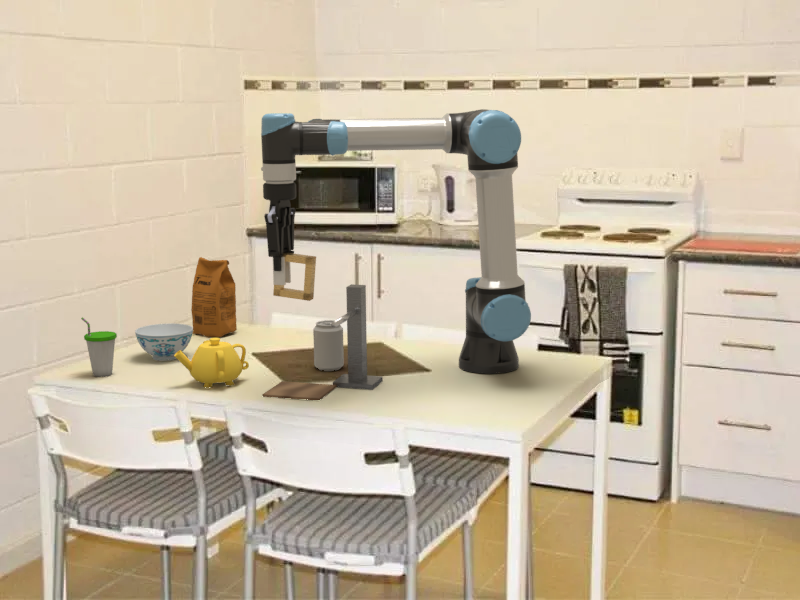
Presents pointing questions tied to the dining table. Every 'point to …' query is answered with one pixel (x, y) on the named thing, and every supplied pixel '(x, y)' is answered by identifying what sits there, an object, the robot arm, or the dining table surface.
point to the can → (328, 346)
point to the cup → (100, 351)
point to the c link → (308, 281)
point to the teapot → (215, 362)
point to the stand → (356, 342)
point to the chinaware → (164, 339)
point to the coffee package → (213, 299)
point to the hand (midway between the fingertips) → (282, 283)
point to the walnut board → (299, 390)
